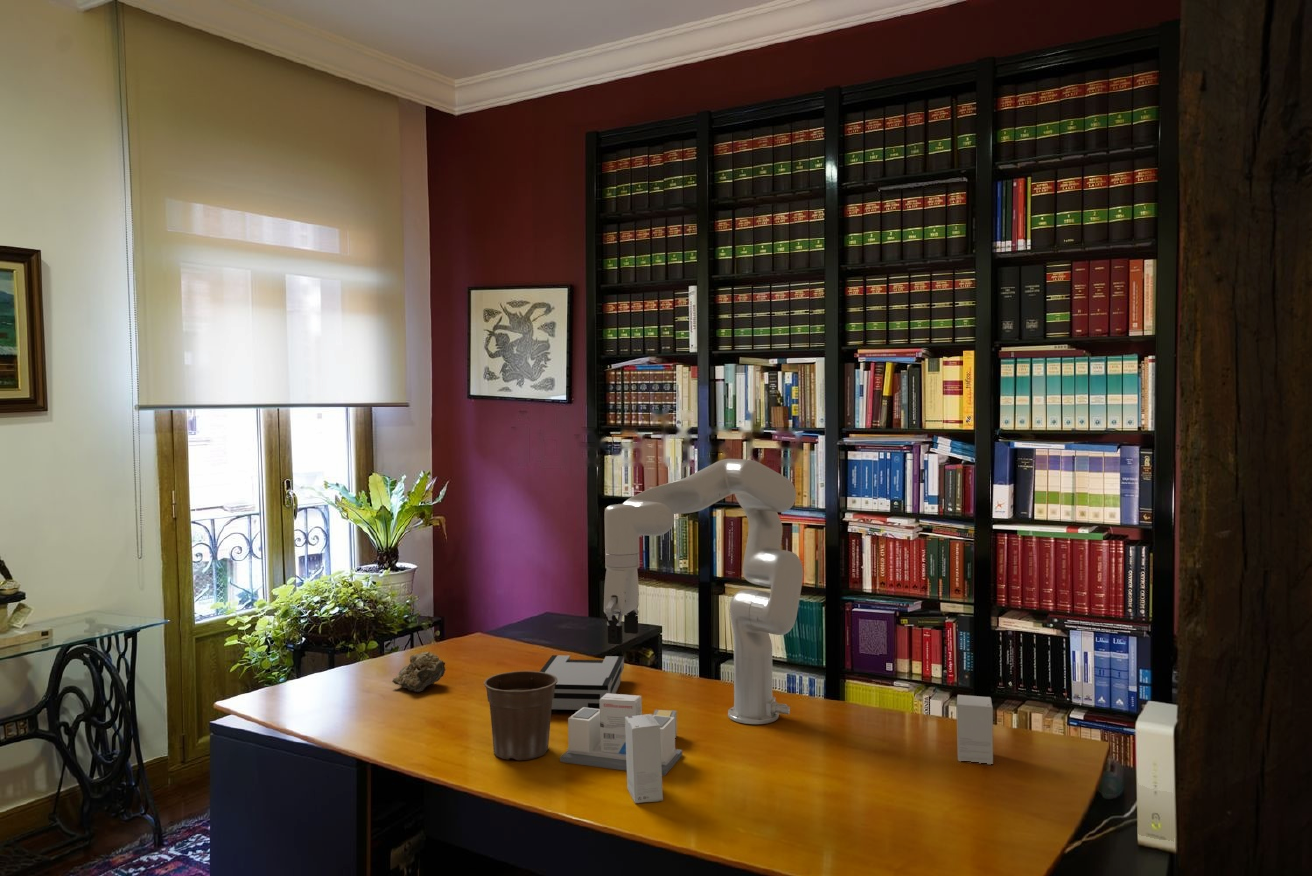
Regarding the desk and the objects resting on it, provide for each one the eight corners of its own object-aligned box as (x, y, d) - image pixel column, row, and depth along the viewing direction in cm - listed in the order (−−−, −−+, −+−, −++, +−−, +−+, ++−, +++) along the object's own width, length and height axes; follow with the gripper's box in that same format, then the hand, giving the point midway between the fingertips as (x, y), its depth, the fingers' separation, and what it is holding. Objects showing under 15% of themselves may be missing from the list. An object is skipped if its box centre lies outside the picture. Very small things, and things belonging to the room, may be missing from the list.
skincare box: (663, 801, 174) (662, 725, 174) (633, 805, 173) (632, 728, 172) (653, 784, 182) (653, 712, 182) (624, 787, 181) (624, 714, 181)
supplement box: (992, 753, 198) (992, 696, 197) (993, 766, 191) (993, 707, 190) (957, 749, 200) (957, 693, 200) (956, 761, 193) (956, 703, 193)
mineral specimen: (380, 688, 249) (380, 653, 249) (417, 677, 259) (417, 643, 259) (415, 697, 241) (415, 661, 240) (452, 686, 251) (451, 650, 251)
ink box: (643, 747, 197) (643, 694, 197) (637, 755, 192) (636, 701, 192) (606, 744, 199) (605, 691, 199) (599, 752, 195) (598, 698, 194)
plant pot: (529, 733, 212) (528, 666, 212) (572, 751, 201) (572, 679, 201) (470, 751, 201) (469, 680, 201) (513, 771, 190) (512, 695, 189)
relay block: (676, 736, 210) (676, 709, 210) (672, 745, 204) (672, 718, 204) (655, 735, 211) (655, 708, 211) (651, 744, 205) (651, 717, 205)
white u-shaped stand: (682, 755, 198) (682, 714, 198) (664, 775, 187) (664, 732, 186) (583, 743, 206) (582, 703, 206) (560, 762, 195) (560, 720, 194)
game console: (624, 680, 256) (623, 652, 256) (608, 718, 224) (607, 685, 224) (552, 679, 258) (552, 651, 258) (526, 716, 226) (526, 683, 226)
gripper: (620, 554, 206) (621, 628, 206) (591, 566, 189) (592, 647, 190) (651, 555, 203) (652, 630, 204) (624, 568, 187) (625, 649, 187)
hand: (623, 638), depth 197 cm, fingers open, 9 cm apart
